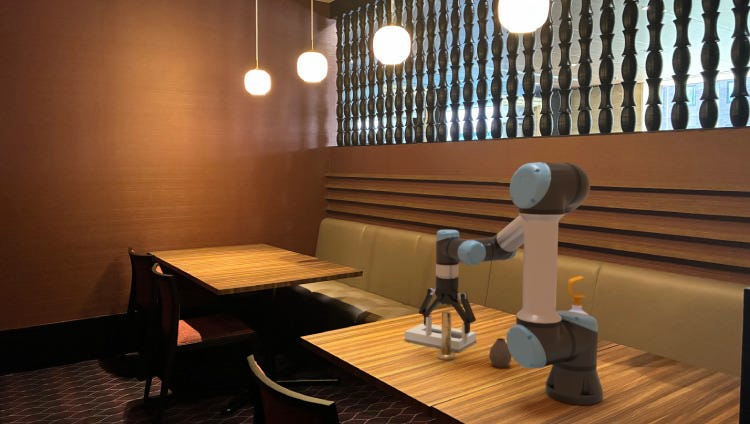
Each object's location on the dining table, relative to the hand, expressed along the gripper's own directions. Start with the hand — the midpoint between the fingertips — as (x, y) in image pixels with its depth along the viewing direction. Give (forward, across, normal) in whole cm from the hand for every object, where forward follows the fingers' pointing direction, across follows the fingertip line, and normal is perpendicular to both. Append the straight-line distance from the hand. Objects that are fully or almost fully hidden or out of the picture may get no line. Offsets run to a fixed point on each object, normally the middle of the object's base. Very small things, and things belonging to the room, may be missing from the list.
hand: (446, 339), depth 189 cm
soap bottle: (+7, -31, -41) cm, 52 cm away
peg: (+6, 0, 0) cm, 6 cm away
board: (+6, +10, -14) cm, 18 cm away
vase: (+7, -18, -3) cm, 19 cm away
